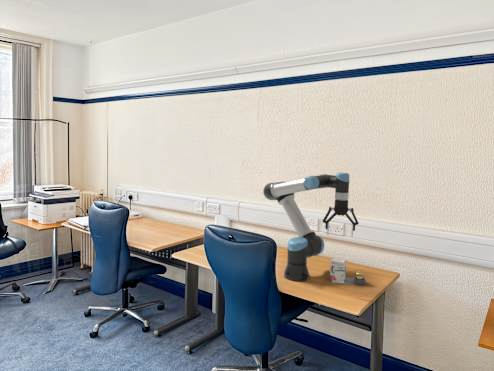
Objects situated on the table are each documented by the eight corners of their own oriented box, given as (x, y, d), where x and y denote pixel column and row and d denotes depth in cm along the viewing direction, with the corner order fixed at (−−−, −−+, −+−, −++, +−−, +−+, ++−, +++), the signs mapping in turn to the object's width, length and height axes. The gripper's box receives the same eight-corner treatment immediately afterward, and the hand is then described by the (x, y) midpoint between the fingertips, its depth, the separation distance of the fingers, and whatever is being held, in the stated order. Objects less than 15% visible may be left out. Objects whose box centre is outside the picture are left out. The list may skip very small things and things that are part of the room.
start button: (355, 283, 218) (356, 273, 217) (355, 280, 222) (355, 271, 221) (363, 284, 217) (364, 274, 216) (362, 281, 221) (363, 272, 220)
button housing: (354, 284, 217) (354, 279, 217) (353, 280, 223) (353, 275, 223) (365, 285, 216) (365, 280, 216) (364, 281, 222) (364, 276, 221)
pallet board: (331, 284, 220) (331, 282, 220) (330, 277, 230) (330, 275, 230) (365, 287, 216) (365, 285, 216) (363, 280, 227) (363, 278, 227)
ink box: (329, 279, 224) (330, 259, 222) (331, 276, 228) (332, 257, 227) (344, 282, 220) (345, 262, 219) (345, 279, 224) (346, 259, 223)
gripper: (319, 199, 217) (317, 235, 220) (364, 201, 213) (362, 238, 215) (319, 197, 225) (318, 232, 227) (363, 199, 220) (361, 235, 222)
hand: (339, 235), depth 221 cm, fingers open, 13 cm apart
